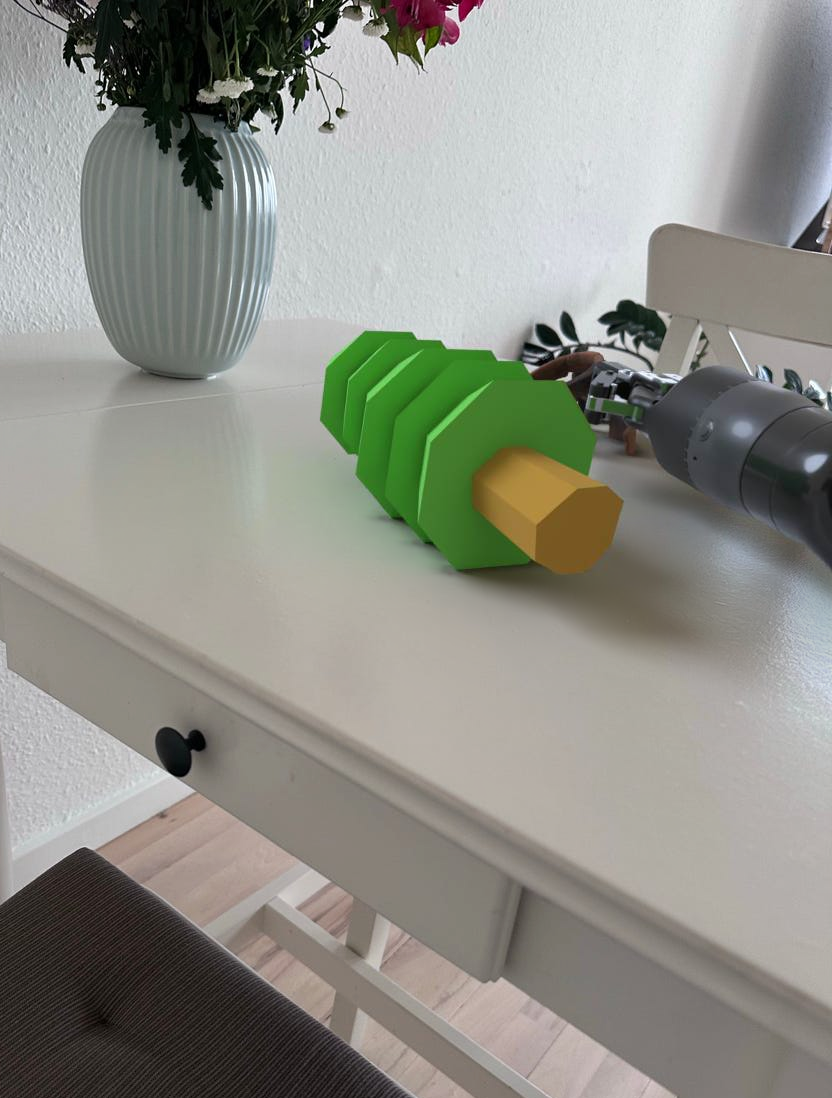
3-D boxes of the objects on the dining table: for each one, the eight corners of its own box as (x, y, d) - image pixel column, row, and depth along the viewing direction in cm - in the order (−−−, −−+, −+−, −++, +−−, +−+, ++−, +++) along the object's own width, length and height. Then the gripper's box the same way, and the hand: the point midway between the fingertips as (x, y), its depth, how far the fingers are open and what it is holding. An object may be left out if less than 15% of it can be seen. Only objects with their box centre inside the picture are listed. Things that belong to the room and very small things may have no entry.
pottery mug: (637, 475, 75) (606, 378, 71) (523, 499, 80) (489, 409, 76) (658, 407, 83) (632, 317, 79) (554, 432, 88) (525, 349, 84)
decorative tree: (569, 374, 40) (303, 247, 63) (436, 605, 44) (229, 405, 67) (722, 465, 47) (430, 320, 70) (596, 661, 50) (357, 461, 73)
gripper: (635, 500, 59) (514, 420, 73) (810, 502, 63) (663, 426, 77) (668, 376, 55) (534, 318, 70) (851, 386, 59) (689, 329, 74)
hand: (602, 374), depth 73 cm, fingers closed
